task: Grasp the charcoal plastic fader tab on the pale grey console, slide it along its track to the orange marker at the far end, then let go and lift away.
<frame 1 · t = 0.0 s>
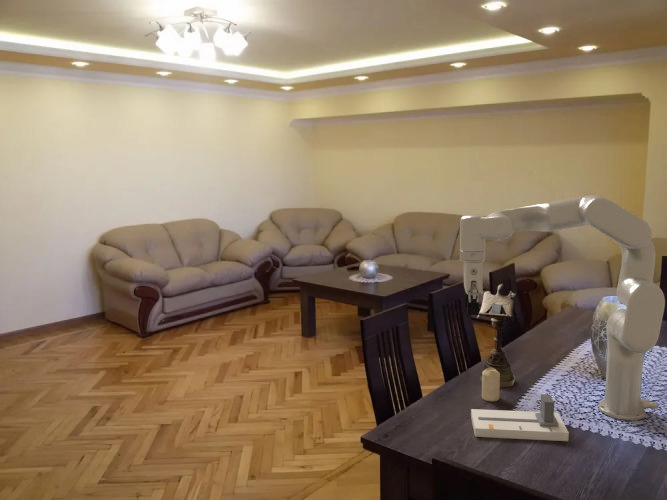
hand: (471, 310, 167), 31 cm above the table, tool pointing down, fingers open, 9 cm apart
bird statue: (498, 383, 188), on the table
candle: (490, 398, 177), on the table
fader tab: (547, 409, 155), point 6 cm above the table, slide at -8.0 cm
fader console: (517, 428, 157), on the table
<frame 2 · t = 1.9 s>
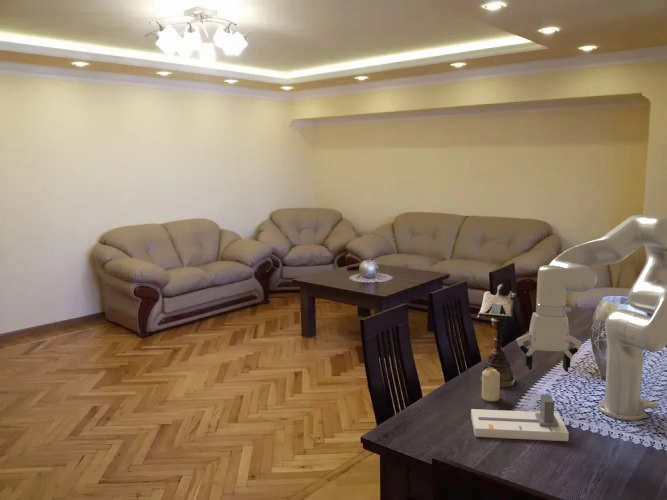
hand: (547, 368, 153), 18 cm above the table, tool pointing down, fingers open, 9 cm apart
nothing on the table moved.
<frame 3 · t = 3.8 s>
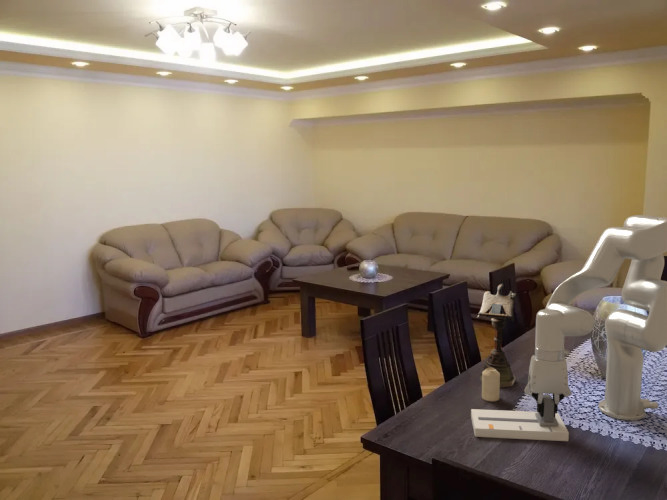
hand: (546, 414, 155), 5 cm above the table, tool pointing down, fingers closed on fader tab, 2 cm apart
fader tab: (547, 409, 155), point 6 cm above the table, slide at -8.0 cm, touching gripper
everything else where it was.
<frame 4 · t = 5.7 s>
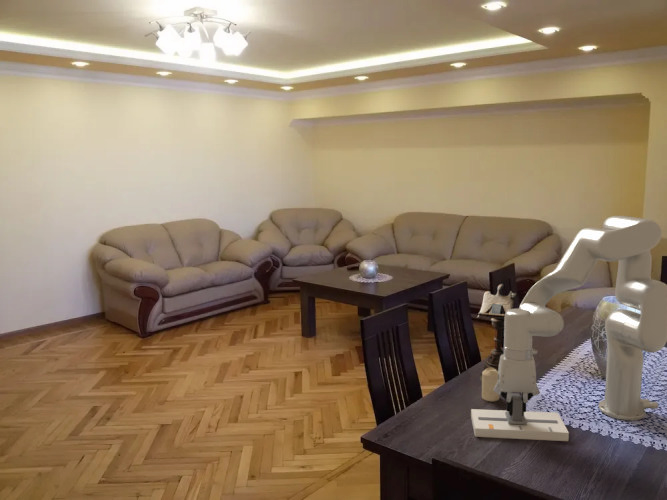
hand: (515, 413, 156), 5 cm above the table, tool pointing down, fingers closed on fader tab, 2 cm apart
fader tab: (516, 408, 156), point 6 cm above the table, slide at 0.5 cm, touching gripper
everything else where it was.
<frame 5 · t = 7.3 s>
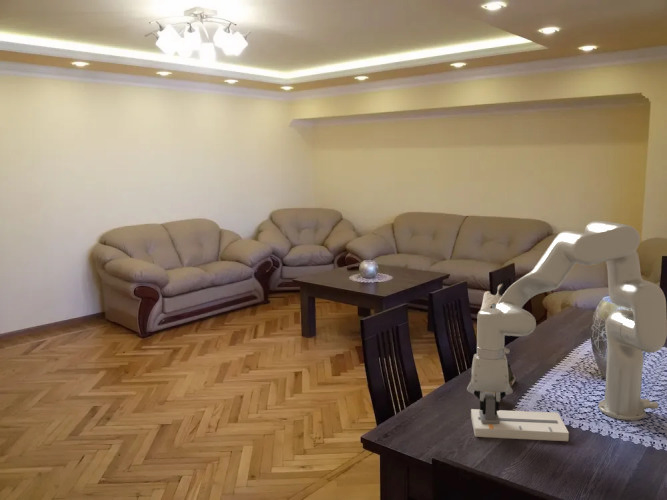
hand: (489, 412, 158), 5 cm above the table, tool pointing down, fingers closed on fader tab, 2 cm apart
fader tab: (489, 407, 157), point 6 cm above the table, slide at 8.0 cm, touching gripper
everything else where it was.
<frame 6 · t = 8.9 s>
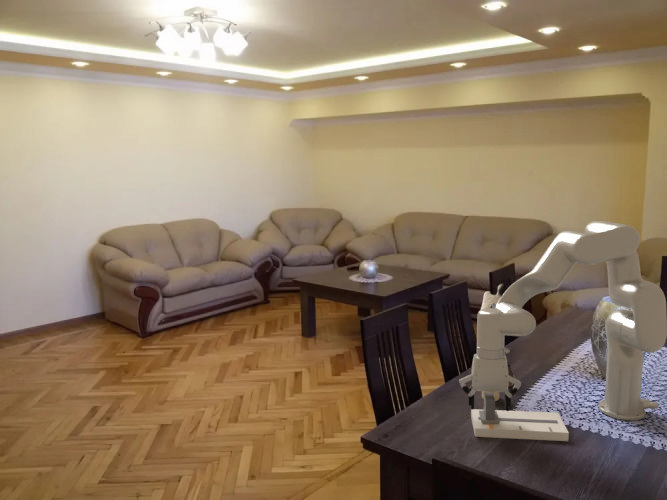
hand: (489, 408, 157), 6 cm above the table, tool pointing down, fingers open, 9 cm apart
fader tab: (489, 407, 157), point 6 cm above the table, slide at 8.0 cm
everything else where it was.
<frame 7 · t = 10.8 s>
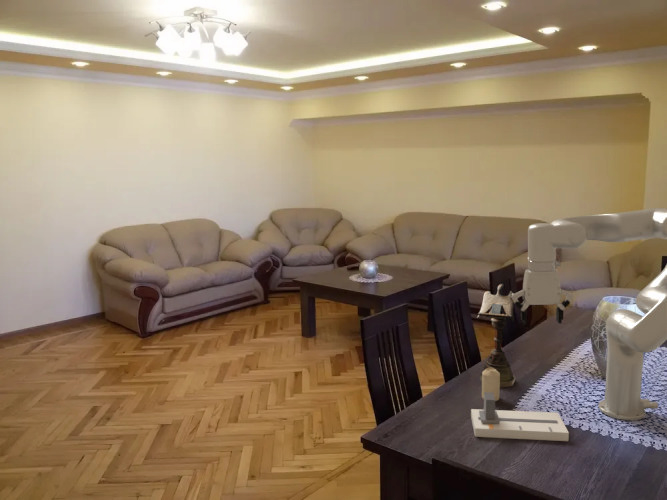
hand: (541, 322, 161), 29 cm above the table, tool pointing down, fingers open, 9 cm apart
nothing on the table moved.
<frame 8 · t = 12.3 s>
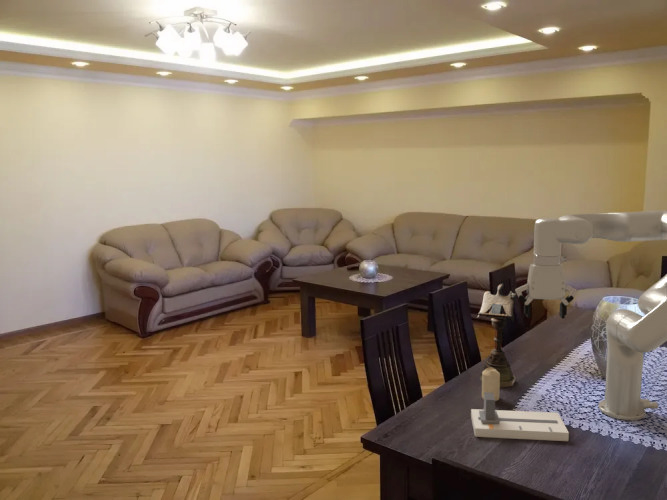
hand: (544, 317, 161), 30 cm above the table, tool pointing down, fingers open, 9 cm apart
nothing on the table moved.
at the end: fader tab slide at 8.0 cm; the gripper is holding nothing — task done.
